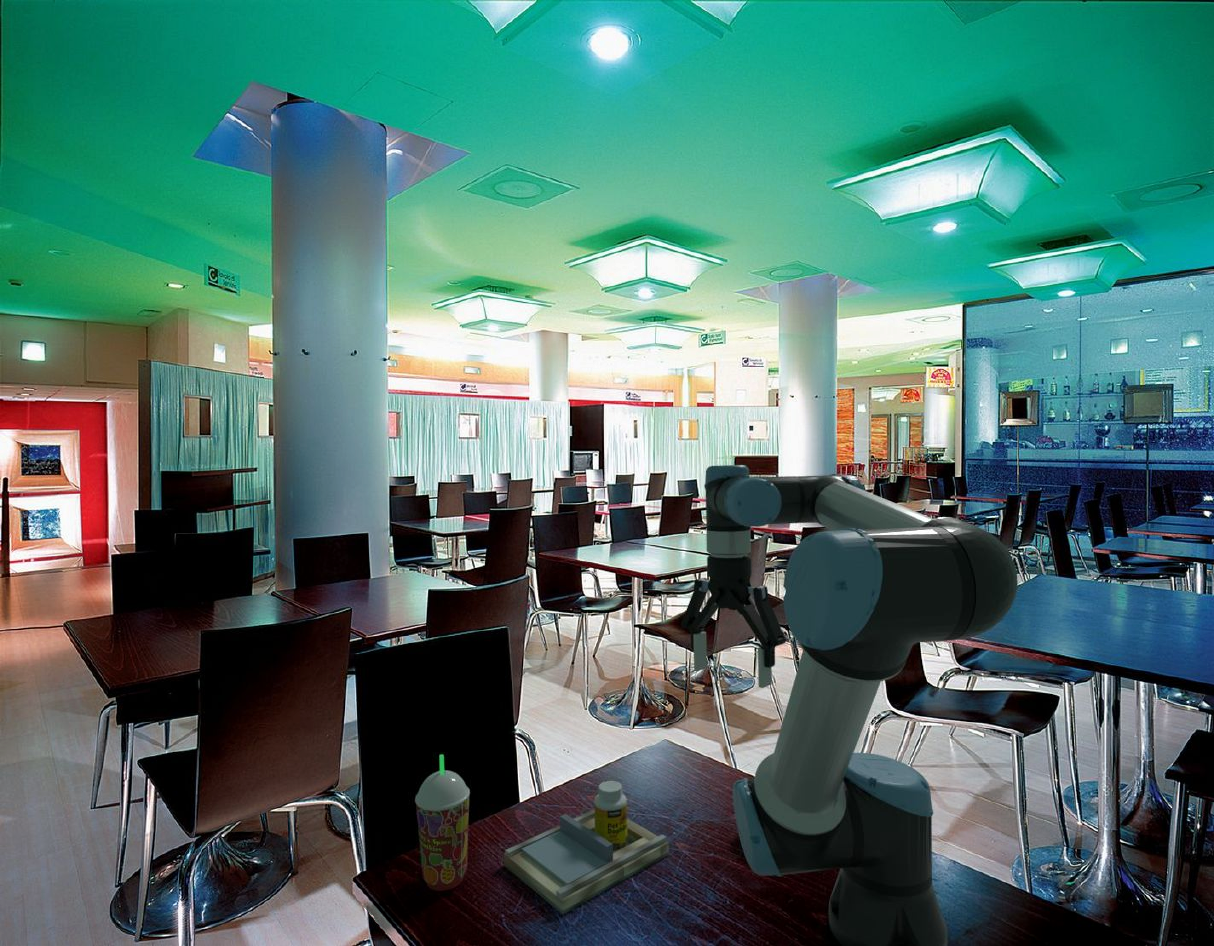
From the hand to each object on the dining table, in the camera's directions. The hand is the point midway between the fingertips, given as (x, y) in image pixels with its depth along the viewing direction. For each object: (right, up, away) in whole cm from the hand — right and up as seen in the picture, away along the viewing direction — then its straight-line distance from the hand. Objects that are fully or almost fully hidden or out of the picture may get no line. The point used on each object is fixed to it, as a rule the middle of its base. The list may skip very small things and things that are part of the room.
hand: (731, 677), depth 118 cm
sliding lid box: (-25, -29, -5) cm, 38 cm away
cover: (-28, -27, -8) cm, 39 cm away
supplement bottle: (-21, -28, -2) cm, 35 cm away
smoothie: (-47, -29, -10) cm, 56 cm away
